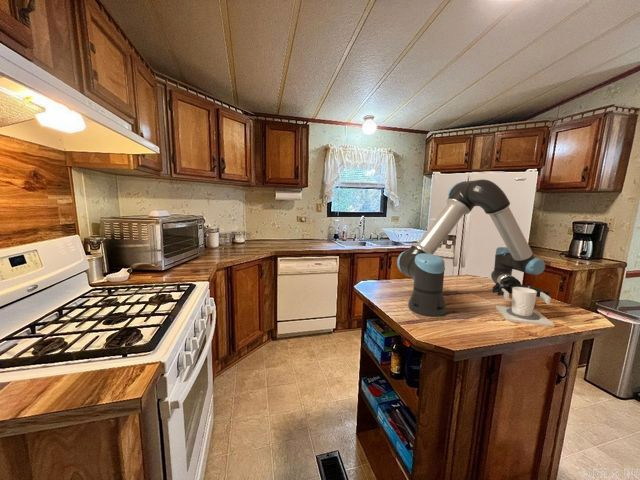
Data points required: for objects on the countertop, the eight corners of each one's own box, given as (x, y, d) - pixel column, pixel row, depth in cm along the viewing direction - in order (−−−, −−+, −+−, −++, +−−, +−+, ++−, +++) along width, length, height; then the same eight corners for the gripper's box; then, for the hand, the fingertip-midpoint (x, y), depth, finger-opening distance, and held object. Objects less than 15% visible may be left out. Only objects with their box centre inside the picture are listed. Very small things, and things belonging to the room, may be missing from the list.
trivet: (507, 320, 103) (507, 318, 103) (495, 307, 117) (495, 304, 117) (554, 326, 98) (554, 324, 98) (536, 311, 112) (536, 309, 112)
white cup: (524, 318, 103) (526, 293, 102) (505, 310, 110) (507, 287, 109) (539, 316, 105) (542, 292, 104) (519, 308, 112) (522, 286, 111)
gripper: (539, 294, 120) (565, 312, 100) (478, 288, 128) (490, 303, 108) (541, 278, 119) (568, 293, 99) (479, 273, 127) (492, 285, 107)
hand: (528, 298), depth 104 cm, fingers open, 13 cm apart
